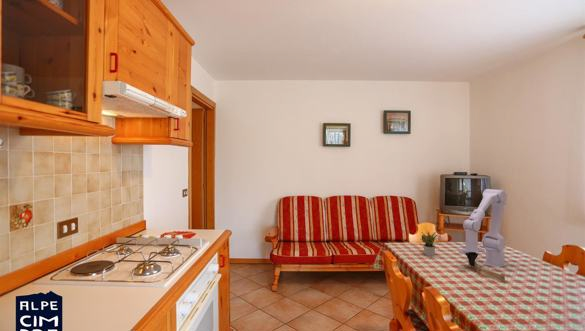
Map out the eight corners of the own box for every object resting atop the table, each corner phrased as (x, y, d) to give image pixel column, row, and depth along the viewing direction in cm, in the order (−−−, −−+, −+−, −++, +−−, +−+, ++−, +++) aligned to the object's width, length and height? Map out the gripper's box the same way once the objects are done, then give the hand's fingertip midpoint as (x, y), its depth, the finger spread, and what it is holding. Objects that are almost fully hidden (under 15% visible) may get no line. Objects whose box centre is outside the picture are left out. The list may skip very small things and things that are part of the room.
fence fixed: (479, 273, 146) (478, 265, 146) (505, 282, 134) (505, 274, 134) (477, 273, 146) (476, 266, 146) (503, 283, 134) (503, 274, 134)
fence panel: (480, 273, 146) (480, 265, 146) (476, 272, 147) (476, 265, 147) (473, 265, 157) (473, 258, 157) (470, 265, 157) (470, 258, 157)
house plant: (444, 254, 179) (444, 229, 179) (443, 260, 168) (443, 233, 168) (420, 250, 187) (420, 226, 187) (418, 256, 175) (417, 231, 175)
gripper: (465, 243, 148) (465, 268, 148) (489, 242, 150) (489, 267, 150) (455, 240, 155) (455, 264, 155) (478, 239, 157) (478, 263, 157)
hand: (471, 265), depth 153 cm, fingers closed, pressing on fence panel
